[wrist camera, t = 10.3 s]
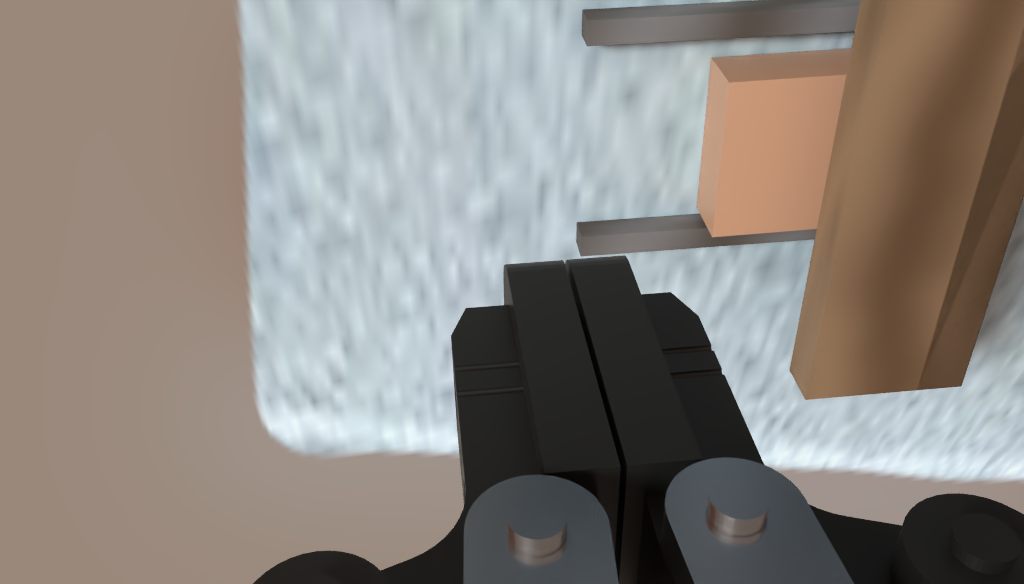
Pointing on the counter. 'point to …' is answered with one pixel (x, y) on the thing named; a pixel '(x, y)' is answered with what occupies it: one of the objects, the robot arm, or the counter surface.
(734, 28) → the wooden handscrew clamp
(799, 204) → the light orange flat block
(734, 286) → the counter surface
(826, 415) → the counter surface
